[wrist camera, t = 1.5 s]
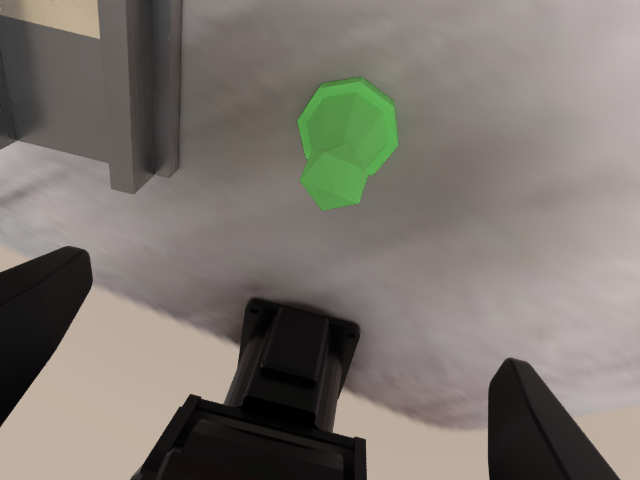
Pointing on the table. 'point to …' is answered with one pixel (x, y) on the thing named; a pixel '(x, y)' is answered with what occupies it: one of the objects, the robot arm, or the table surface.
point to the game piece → (345, 140)
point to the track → (94, 82)
